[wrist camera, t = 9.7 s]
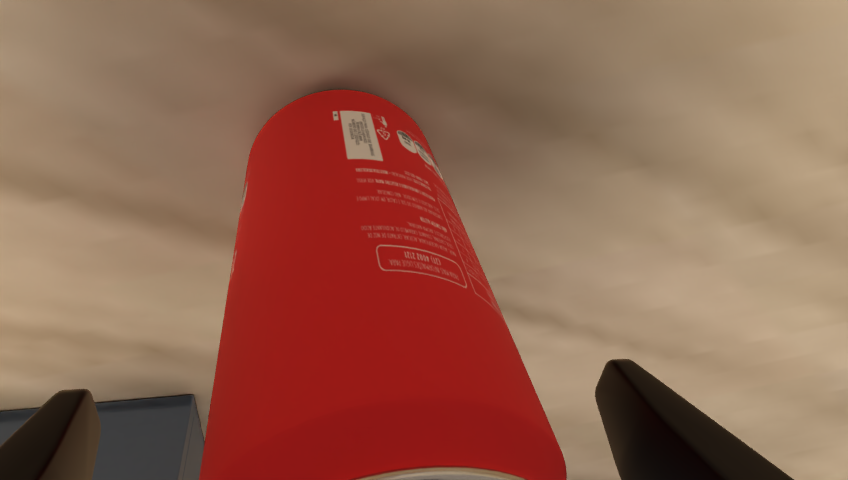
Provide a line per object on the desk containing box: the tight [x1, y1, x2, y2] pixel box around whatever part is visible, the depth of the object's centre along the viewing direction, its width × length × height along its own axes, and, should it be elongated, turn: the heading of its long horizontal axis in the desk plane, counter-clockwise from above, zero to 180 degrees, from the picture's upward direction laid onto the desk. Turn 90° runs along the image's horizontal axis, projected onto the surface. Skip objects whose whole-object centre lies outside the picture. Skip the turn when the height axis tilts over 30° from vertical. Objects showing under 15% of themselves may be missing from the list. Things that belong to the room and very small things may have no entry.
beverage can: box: [199, 90, 566, 480], centre depth 12 cm, size 5×5×12 cm
